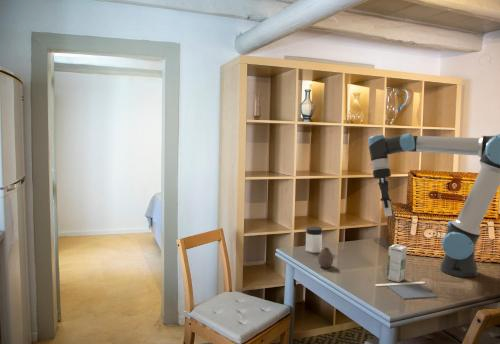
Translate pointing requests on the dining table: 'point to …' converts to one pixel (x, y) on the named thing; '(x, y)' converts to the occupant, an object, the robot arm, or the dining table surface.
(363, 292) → the dining table surface
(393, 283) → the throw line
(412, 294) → the mat
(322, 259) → the vase
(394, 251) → the syrup box
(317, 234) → the jar
